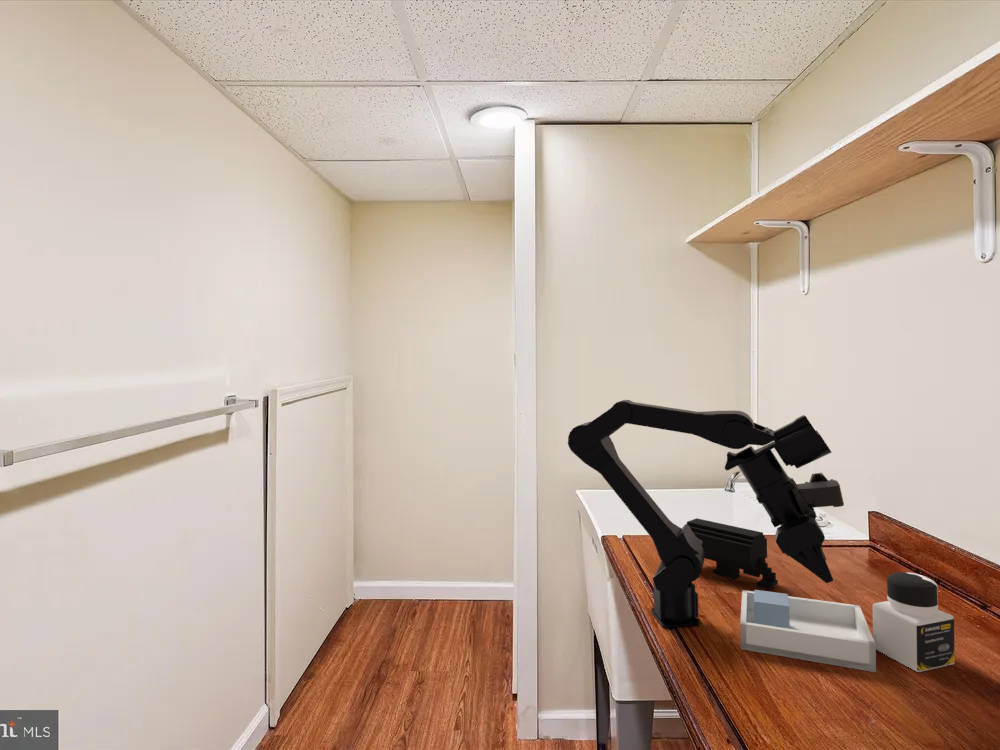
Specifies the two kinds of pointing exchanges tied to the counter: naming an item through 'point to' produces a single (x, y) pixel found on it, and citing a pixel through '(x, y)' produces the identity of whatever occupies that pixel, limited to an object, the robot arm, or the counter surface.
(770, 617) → the block
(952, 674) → the counter surface
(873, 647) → the tote
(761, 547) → the security camera
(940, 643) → the medicine bottle
